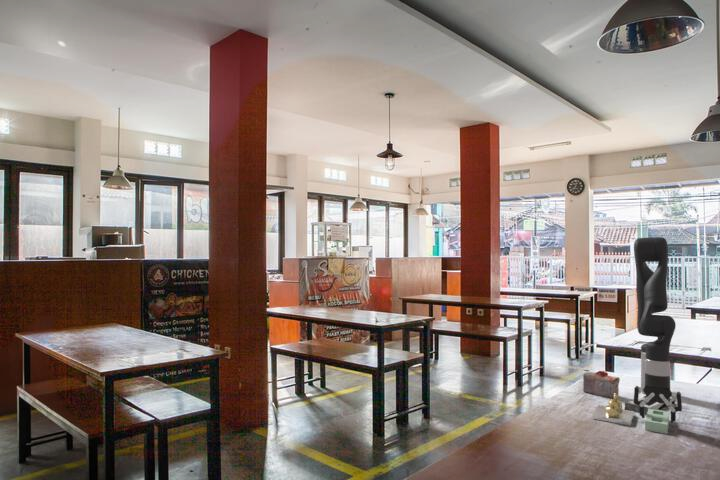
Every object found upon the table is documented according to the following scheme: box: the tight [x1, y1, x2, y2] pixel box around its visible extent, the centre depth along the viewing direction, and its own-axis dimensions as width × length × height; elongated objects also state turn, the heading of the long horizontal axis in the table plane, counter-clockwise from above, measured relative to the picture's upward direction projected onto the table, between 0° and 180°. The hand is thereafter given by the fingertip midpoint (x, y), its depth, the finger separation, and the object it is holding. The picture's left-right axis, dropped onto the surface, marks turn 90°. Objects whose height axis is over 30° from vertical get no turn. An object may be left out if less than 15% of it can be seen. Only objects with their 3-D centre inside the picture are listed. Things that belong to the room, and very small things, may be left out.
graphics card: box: [624, 395, 676, 415], centre depth 191 cm, size 10×3×25 cm
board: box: [644, 408, 670, 435], centre depth 171 cm, size 16×6×3 cm, turn 146°
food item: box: [582, 370, 621, 399], centre depth 207 cm, size 14×8×10 cm, turn 42°
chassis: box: [592, 393, 636, 426], centre depth 178 cm, size 13×12×8 cm
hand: (657, 419), depth 171 cm, fingers open, 8 cm apart
